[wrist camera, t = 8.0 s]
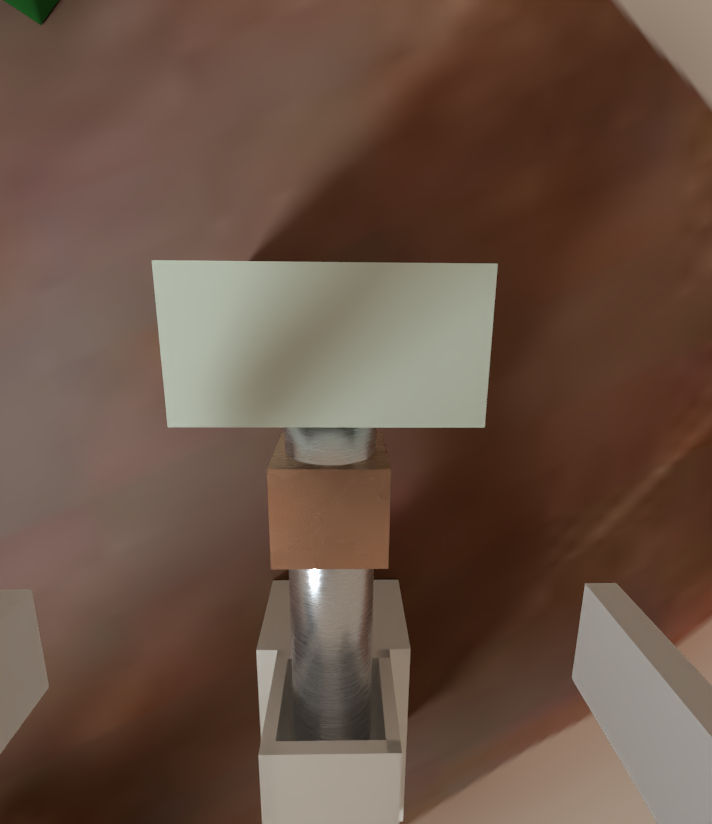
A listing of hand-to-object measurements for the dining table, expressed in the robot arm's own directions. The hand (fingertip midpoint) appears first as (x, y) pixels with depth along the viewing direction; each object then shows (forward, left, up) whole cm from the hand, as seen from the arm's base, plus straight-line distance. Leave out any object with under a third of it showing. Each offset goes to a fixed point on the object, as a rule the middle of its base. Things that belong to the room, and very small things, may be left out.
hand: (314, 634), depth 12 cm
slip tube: (-3, 0, -11) cm, 11 cm away
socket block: (+6, 0, -17) cm, 18 cm away
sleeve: (-16, 0, -17) cm, 24 cm away
